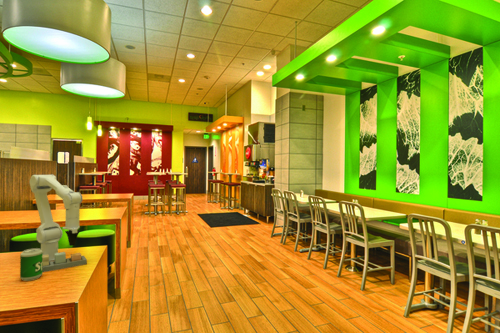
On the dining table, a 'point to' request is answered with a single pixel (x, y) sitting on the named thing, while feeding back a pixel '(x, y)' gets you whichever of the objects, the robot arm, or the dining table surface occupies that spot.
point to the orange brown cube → (75, 257)
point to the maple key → (45, 260)
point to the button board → (64, 264)
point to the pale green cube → (60, 257)
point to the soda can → (31, 264)
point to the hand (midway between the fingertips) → (72, 245)
